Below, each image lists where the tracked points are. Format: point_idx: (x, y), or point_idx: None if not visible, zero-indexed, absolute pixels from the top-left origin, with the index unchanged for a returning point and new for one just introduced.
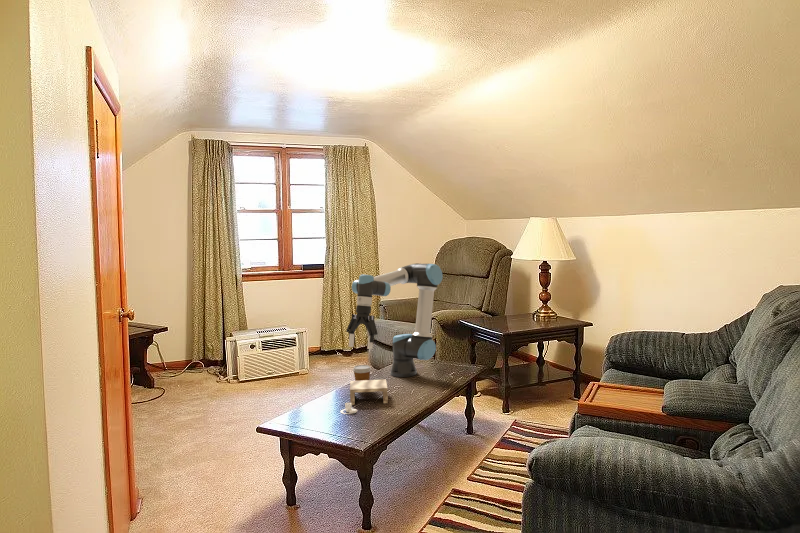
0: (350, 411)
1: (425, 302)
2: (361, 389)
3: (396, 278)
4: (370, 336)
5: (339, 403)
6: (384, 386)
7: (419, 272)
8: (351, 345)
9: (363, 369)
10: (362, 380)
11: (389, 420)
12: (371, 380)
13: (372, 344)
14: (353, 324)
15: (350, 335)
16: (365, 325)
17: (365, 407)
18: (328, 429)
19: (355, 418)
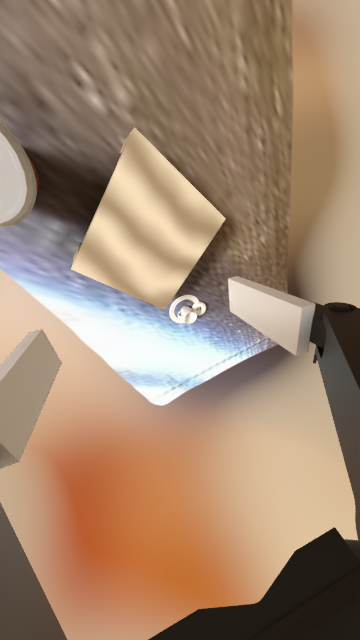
0: (200, 314)
1: None
2: (181, 284)
3: None
4: (305, 337)
5: (127, 306)
6: (208, 214)
7: None
8: (50, 353)
9: (28, 193)
10: (90, 229)
11: (267, 275)
12: (112, 198)
13: (256, 284)
14: None
15: (26, 441)
16: (357, 488)
17: (189, 273)
18: (223, 354)
19: (220, 313)
